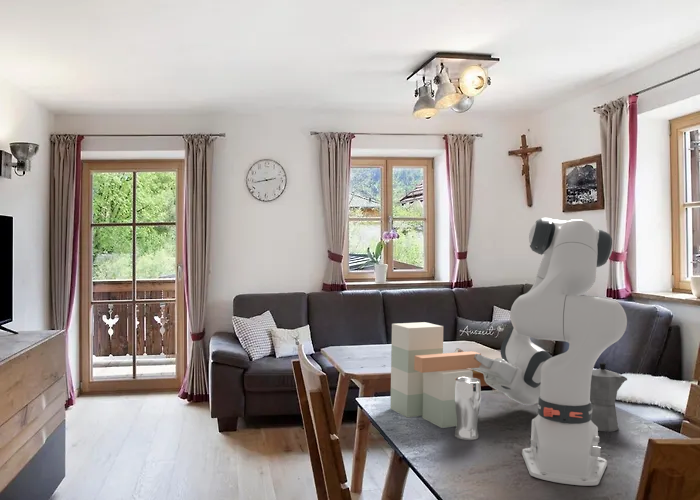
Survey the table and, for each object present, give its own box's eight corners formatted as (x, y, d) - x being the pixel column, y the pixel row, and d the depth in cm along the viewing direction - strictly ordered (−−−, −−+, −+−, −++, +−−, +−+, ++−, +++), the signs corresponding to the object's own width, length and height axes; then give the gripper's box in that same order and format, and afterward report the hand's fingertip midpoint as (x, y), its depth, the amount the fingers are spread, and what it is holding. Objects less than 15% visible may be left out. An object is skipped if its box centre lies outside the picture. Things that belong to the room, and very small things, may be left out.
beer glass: (468, 442, 150) (469, 384, 150) (447, 435, 155) (448, 379, 155) (485, 437, 154) (486, 380, 154) (464, 430, 160) (465, 375, 159)
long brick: (472, 364, 174) (472, 351, 174) (480, 367, 170) (481, 353, 170) (414, 369, 166) (414, 355, 166) (421, 372, 162) (422, 358, 162)
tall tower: (423, 404, 185) (425, 322, 185) (441, 413, 176) (443, 326, 175) (390, 408, 180) (391, 323, 179) (407, 417, 171) (408, 328, 170)
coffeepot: (632, 428, 164) (633, 364, 164) (619, 436, 157) (620, 368, 157) (577, 416, 175) (578, 356, 174) (563, 423, 168) (564, 360, 168)
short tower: (451, 414, 175) (452, 364, 175) (471, 423, 166) (472, 370, 166) (422, 418, 170) (423, 366, 170) (441, 428, 161) (442, 373, 161)
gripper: (481, 358, 186) (450, 338, 181) (526, 371, 167) (492, 349, 162) (472, 376, 184) (441, 356, 179) (517, 391, 166) (483, 370, 161)
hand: (466, 353), depth 171 cm, fingers open, 8 cm apart
